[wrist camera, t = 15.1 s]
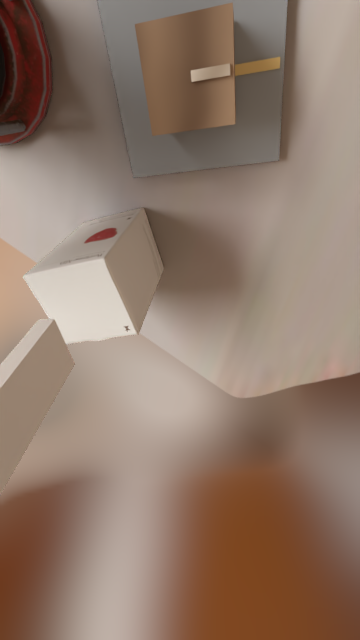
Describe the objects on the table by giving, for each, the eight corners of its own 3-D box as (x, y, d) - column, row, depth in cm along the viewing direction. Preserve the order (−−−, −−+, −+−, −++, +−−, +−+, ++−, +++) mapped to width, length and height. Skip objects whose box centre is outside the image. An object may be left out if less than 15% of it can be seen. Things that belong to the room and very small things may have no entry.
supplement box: (144, 204, 38) (106, 256, 26) (165, 268, 43) (141, 337, 31) (80, 220, 40) (18, 275, 28) (107, 279, 45) (64, 347, 33)
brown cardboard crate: (165, 129, 32) (151, 136, 27) (152, 35, 27) (133, 23, 22) (235, 118, 30) (235, 124, 25) (233, 18, 26) (232, 1, 21)
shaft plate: (136, 175, 36) (124, 186, 32) (96, -23, 26) (72, -45, 22) (277, 158, 33) (284, 168, 29) (289, -71, 24) (302, -105, 19)
